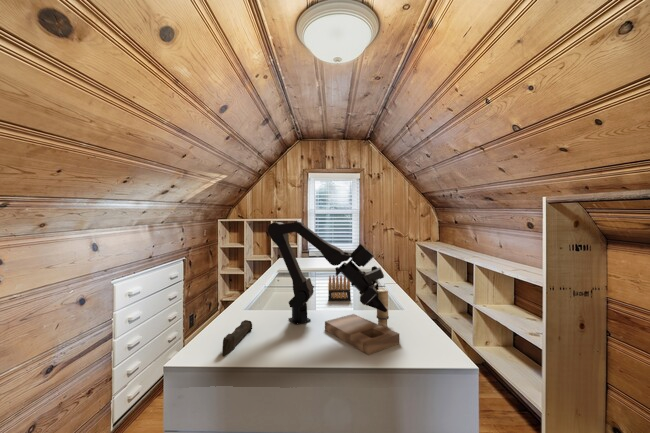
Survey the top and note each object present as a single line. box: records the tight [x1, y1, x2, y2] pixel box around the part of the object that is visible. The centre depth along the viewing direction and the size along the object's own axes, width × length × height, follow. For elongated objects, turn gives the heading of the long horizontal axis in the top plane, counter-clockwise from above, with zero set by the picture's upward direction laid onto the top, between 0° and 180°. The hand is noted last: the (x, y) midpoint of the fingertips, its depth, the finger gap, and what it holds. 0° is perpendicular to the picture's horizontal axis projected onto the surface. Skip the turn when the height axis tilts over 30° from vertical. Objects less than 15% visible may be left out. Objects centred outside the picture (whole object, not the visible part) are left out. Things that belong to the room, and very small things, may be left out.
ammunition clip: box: [327, 274, 352, 302], centre depth 132 cm, size 11×2×12 cm, turn 89°
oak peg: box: [376, 289, 390, 328], centre depth 100 cm, size 4×4×12 cm
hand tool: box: [221, 319, 253, 357], centre depth 88 cm, size 19×4×5 cm, turn 173°
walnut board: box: [324, 313, 400, 356], centre depth 91 cm, size 22×13×3 cm, turn 34°
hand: (386, 307), depth 100 cm, fingers open, 9 cm apart
